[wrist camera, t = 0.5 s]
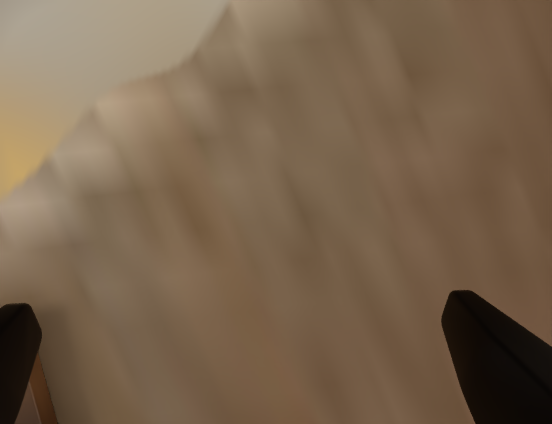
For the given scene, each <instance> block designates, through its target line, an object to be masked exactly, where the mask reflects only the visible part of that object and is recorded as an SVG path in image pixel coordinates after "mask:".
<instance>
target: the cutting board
mask: <svg viewBox="0 0 552 424" xmlns="http://www.w3.org/2000/svg"><path fill="white" fill-rule="evenodd" d="M15 424H58V423H57V419H56V416H55V412H54V409H53V405H52V402H51V398H50V394H49V391H48V387H47V384H46V380H45V376H44V373H43V369H42V366H41V362H40V359H39V355H38V353H37V356H36V359H35V363H34V366H33V369H32V373H31V376H30V379H29V383H28V386H27V389H26V393H25V396H24V399H23V402H22V405H21V408H20V411H19V414H18V416H17V419H16V421H15Z"/></svg>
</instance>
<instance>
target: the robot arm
mask: <svg viewBox="0 0 552 424" xmlns="http://www.w3.org/2000/svg"><path fill="white" fill-rule="evenodd" d="M441 323H442V328H443V331H444V335H445V338H446V341H447V344H448V348H449V351H450V354H451V358H452V361H453V364H454V367H455V371H456V374H457V377H458V380H459V384H460V387H461V389H462V392H463V395H464V397H465V400H466V402H467V405H468V407H469V410H470V412H471V414H472V417H473V419H474V421H475V424H552V347H551V346H550V345H548V344H547V343H545V342H544V341H543V340H541V339H540V338H538V337H537V336H535V335H534V334H533V333H531V332H530V331H528V330H527V329H526V328H524V327H523V326H521V325H520V324H518V323H517V322H516V321H514V320H513V319H511V318H510V317H508V316H507V315H506V314H504V313H503V312H501V311H500V310H498V309H497V308H496V307H494V306H493V305H491V304H490V303H489V302H487V301H486V300H484V299H483V298H481V297H480V296H479V295H477V294H476V293H474V292H473V291H470V290H454V291H452V292H451V293H450V294H449V296H448V299H447V302H446V305H445V308H444V311H443V314H442V319H441ZM41 338H42V332H41V328H40V325H39V323H38V321H37V319H36V316H35V314H34V312H33V310H32V308H31V306H30V305H29V304H26V303H15V304H6V305H4V306H3V307H1V308H0V424H15V421H16V419H17V416H18V414H19V411H20V408H21V405H22V402H23V399H24V396H25V393H26V389H27V386H28V383H29V379H30V376H31V373H32V369H33V366H34V363H35V359H36V356H37V353H38V350H39V346H40V343H41Z"/></svg>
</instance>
